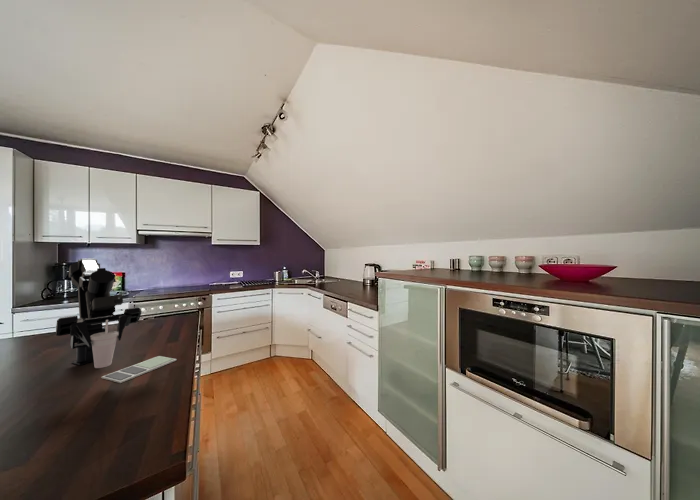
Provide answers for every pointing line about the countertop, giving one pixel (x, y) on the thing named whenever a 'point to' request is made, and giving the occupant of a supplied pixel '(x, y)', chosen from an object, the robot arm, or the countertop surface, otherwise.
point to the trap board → (138, 369)
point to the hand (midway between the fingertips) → (105, 342)
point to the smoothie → (103, 347)
